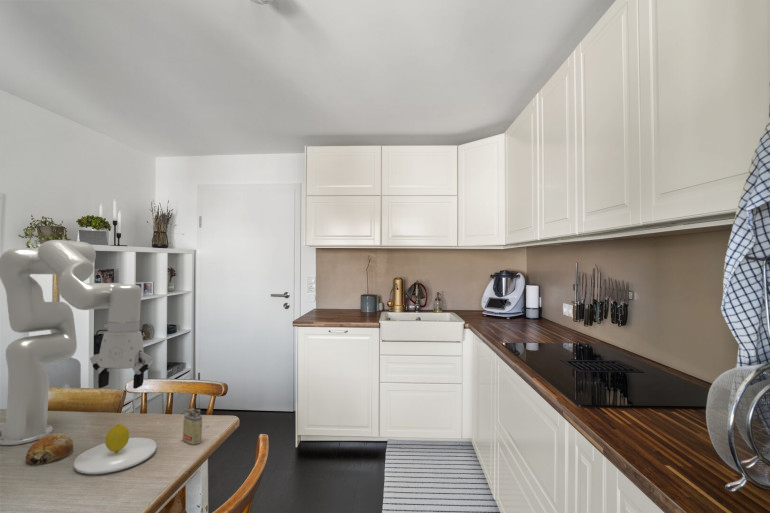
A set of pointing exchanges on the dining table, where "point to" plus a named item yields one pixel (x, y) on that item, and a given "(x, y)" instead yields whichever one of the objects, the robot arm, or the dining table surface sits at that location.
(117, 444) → the lemon
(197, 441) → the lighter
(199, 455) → the dining table surface
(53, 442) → the bread roll
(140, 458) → the plate
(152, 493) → the dining table surface
